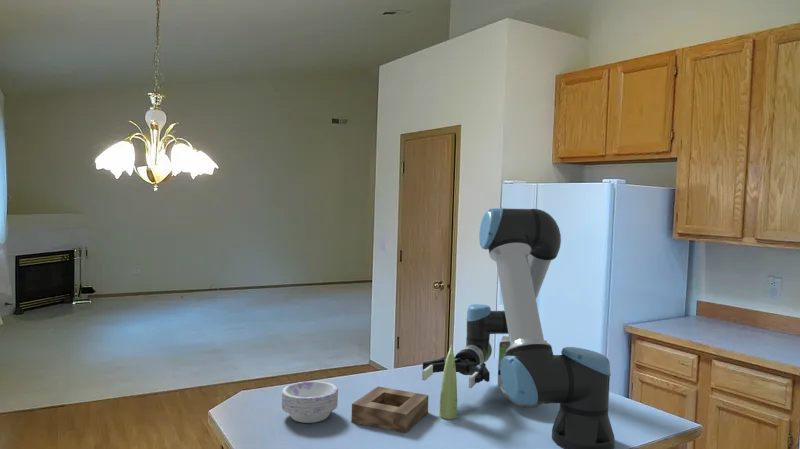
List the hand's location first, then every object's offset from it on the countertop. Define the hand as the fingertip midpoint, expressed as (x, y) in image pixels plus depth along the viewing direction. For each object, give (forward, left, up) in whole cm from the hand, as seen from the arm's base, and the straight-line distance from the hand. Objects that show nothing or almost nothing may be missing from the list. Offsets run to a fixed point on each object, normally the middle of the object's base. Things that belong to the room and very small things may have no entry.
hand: (446, 379), depth 153 cm
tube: (0, -2, -11) cm, 11 cm away
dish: (-18, -20, -11) cm, 29 cm away
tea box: (-13, -40, -11) cm, 43 cm away
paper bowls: (+34, +16, -11) cm, 39 cm away
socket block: (+14, +6, -11) cm, 19 cm away
